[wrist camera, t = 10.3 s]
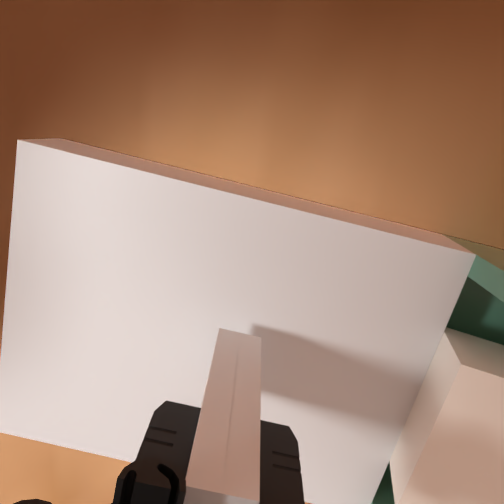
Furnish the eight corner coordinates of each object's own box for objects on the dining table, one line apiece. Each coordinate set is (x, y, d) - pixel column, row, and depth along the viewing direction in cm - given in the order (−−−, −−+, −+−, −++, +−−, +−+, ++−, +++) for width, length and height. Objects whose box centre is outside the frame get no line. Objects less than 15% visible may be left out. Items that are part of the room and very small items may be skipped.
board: (34, 387, 20) (-6, 431, 17) (61, 138, 17) (17, 139, 14) (352, 461, 20) (366, 515, 18) (441, 234, 17) (476, 254, 14)
